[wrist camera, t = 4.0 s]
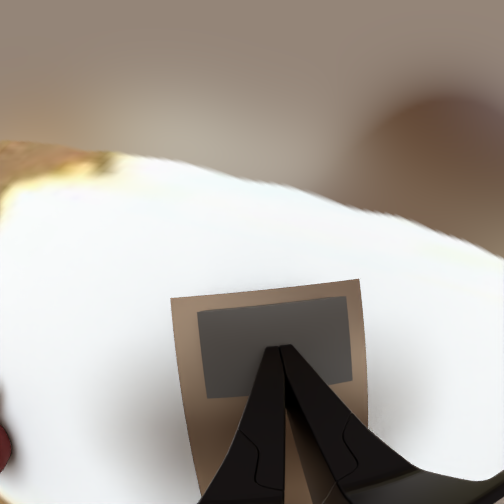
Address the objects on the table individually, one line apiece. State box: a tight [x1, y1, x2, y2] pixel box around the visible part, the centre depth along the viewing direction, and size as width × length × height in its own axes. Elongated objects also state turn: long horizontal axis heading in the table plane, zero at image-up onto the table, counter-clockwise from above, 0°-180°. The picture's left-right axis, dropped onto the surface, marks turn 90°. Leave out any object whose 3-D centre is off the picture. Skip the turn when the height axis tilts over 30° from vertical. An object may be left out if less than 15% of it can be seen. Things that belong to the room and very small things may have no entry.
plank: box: [170, 279, 368, 504], centre depth 11 cm, size 14×8×4 cm, turn 6°
